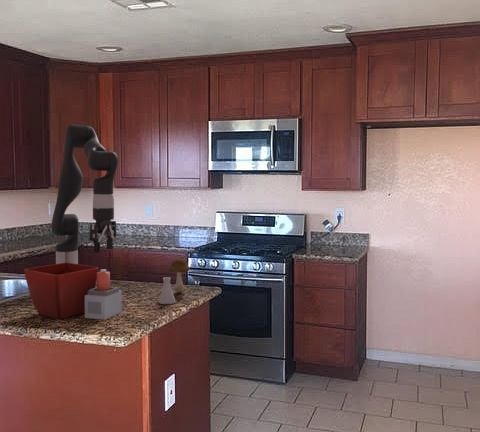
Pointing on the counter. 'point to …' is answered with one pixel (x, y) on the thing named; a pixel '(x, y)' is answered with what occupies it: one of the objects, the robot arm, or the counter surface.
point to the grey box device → (103, 303)
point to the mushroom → (179, 273)
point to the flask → (166, 293)
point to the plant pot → (60, 288)
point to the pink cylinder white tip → (103, 280)
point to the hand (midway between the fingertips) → (103, 250)
